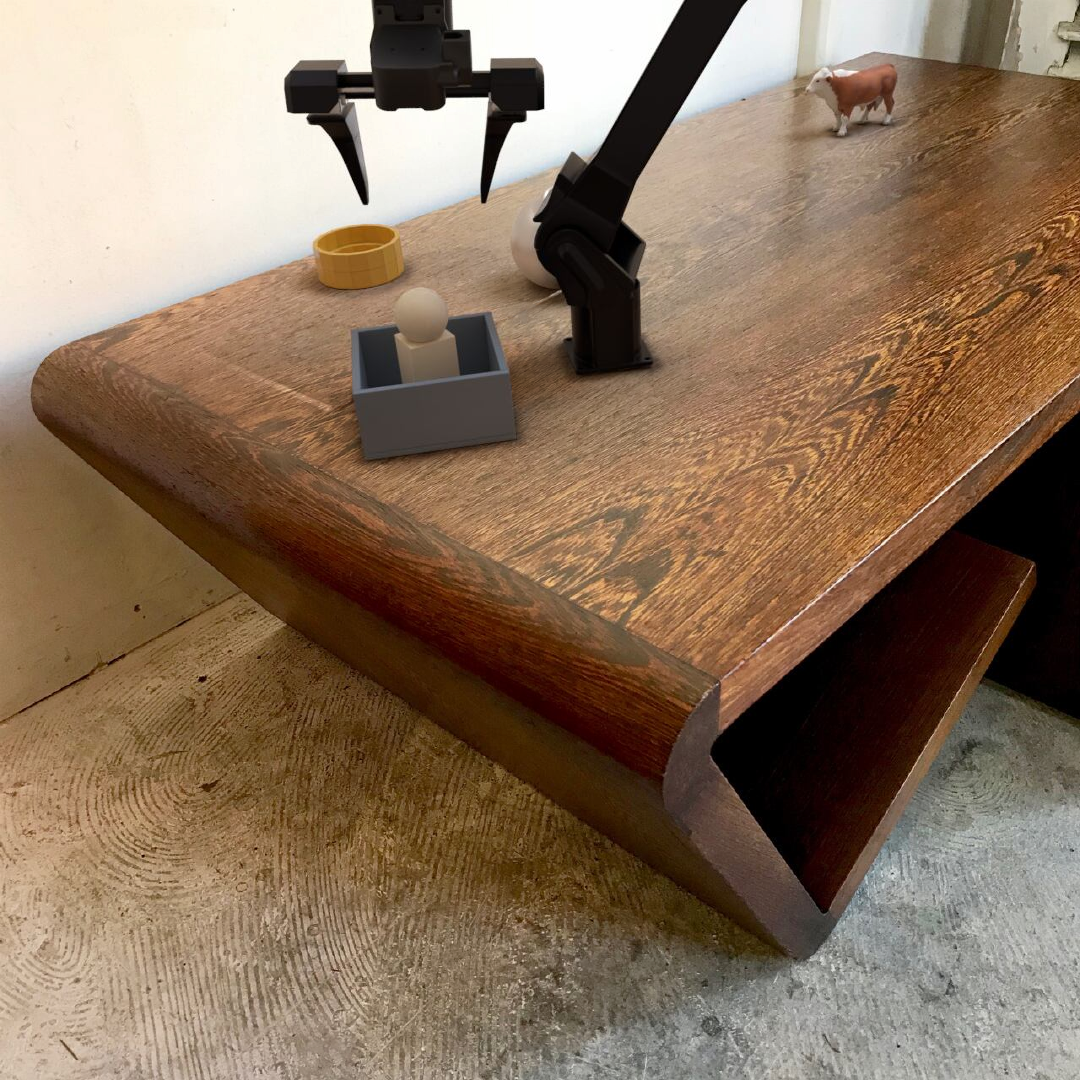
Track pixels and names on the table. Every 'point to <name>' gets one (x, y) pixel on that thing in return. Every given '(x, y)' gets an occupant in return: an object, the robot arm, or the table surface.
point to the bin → (431, 393)
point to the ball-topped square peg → (424, 337)
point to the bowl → (358, 256)
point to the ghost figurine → (530, 244)
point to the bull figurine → (855, 92)
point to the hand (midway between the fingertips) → (424, 203)
